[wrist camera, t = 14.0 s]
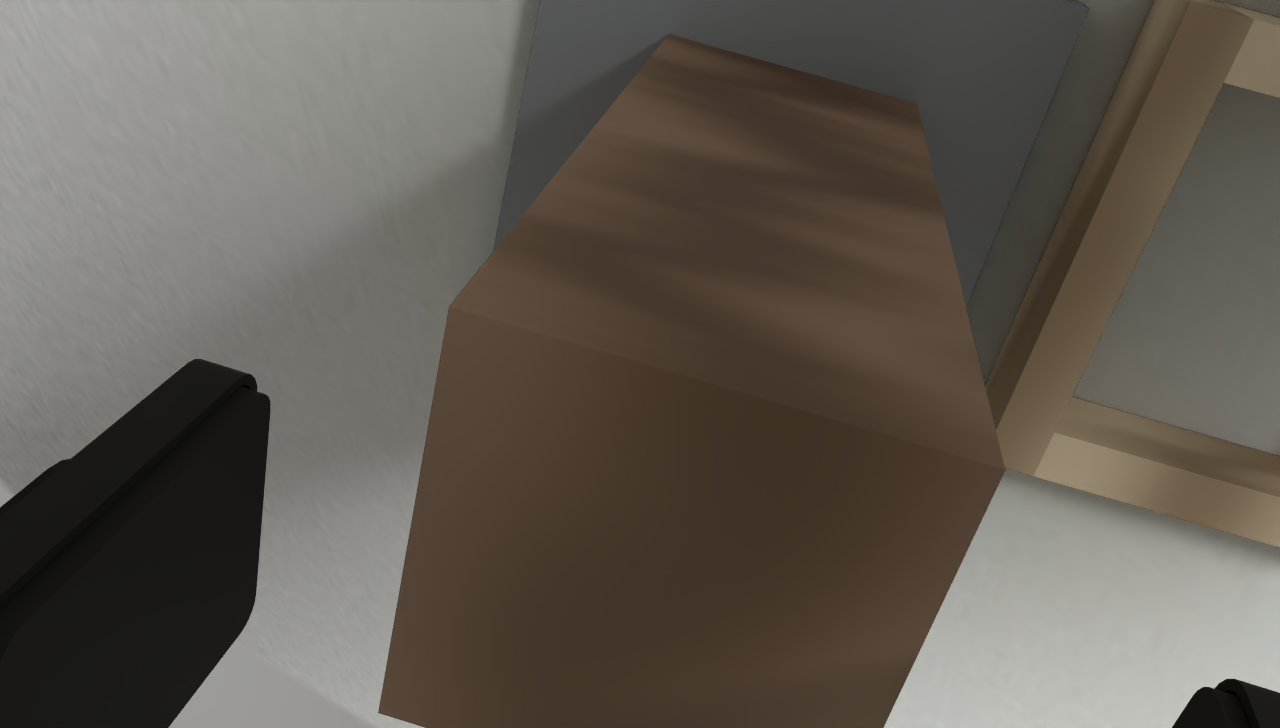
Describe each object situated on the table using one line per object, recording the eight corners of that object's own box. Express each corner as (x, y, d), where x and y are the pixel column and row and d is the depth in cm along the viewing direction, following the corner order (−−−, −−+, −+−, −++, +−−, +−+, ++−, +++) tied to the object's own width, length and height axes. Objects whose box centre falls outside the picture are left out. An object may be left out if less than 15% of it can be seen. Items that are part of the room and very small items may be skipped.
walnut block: (917, 103, 24) (1005, 470, 11) (835, 328, 26) (824, 850, 13) (668, 33, 24) (449, 306, 11) (612, 263, 27) (378, 712, 13)
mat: (1083, 3, 23) (1089, 8, 22) (903, 444, 28) (904, 456, 28) (571, -136, 23) (564, -135, 23) (485, 322, 29) (478, 332, 28)
